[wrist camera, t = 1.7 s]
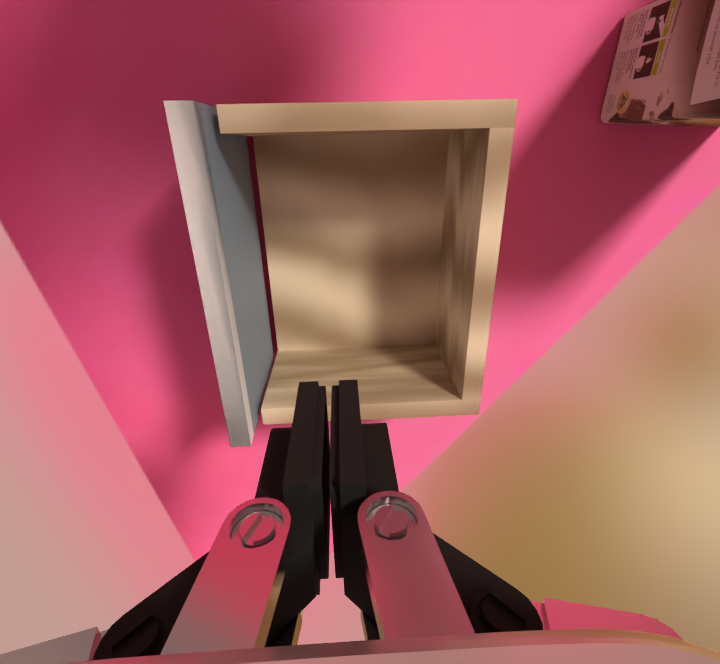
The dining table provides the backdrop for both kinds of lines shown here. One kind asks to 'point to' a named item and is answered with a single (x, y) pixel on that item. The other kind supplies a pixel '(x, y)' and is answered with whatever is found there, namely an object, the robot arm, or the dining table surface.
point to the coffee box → (667, 66)
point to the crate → (380, 246)
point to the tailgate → (225, 258)
